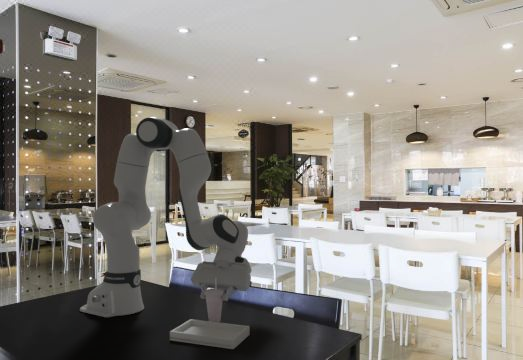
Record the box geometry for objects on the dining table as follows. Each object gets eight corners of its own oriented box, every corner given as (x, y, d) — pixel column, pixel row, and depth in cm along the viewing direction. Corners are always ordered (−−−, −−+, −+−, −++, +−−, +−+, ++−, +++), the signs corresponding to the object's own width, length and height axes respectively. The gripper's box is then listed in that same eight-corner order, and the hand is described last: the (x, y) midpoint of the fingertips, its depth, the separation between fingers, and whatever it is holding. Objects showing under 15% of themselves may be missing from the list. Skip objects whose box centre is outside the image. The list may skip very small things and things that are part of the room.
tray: (169, 340, 120) (169, 331, 120) (190, 327, 132) (190, 319, 132) (233, 349, 114) (233, 339, 114) (249, 334, 125) (249, 326, 125)
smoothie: (221, 324, 131) (220, 280, 131) (201, 323, 132) (201, 279, 132) (226, 318, 137) (226, 275, 137) (208, 317, 138) (208, 274, 138)
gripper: (196, 255, 145) (181, 290, 135) (251, 259, 138) (239, 296, 128) (202, 266, 149) (188, 301, 140) (256, 270, 142) (245, 307, 133)
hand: (213, 299), depth 134 cm, fingers closed on smoothie, 6 cm apart
